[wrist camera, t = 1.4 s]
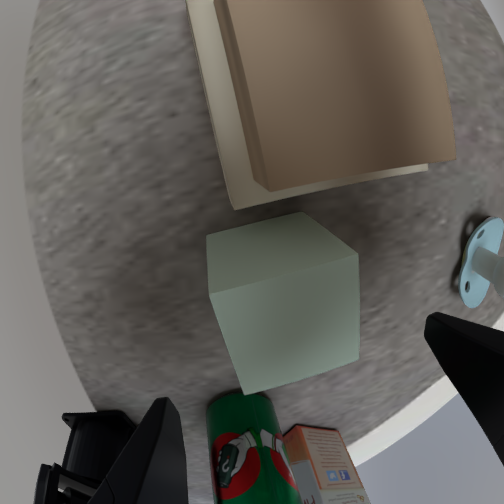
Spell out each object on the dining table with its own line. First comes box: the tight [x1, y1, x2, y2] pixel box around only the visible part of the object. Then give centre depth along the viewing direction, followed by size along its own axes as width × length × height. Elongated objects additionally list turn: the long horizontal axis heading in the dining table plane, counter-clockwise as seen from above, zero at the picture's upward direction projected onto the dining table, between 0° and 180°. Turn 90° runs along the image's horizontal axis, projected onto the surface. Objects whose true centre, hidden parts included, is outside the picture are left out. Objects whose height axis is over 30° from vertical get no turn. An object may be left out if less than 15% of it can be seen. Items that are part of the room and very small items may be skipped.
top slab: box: [213, 0, 456, 192], centre depth 9 cm, size 8×8×3 cm
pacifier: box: [458, 217, 504, 308], centre depth 15 cm, size 7×6×6 cm
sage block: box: [206, 211, 360, 395], centre depth 13 cm, size 5×5×6 cm
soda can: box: [206, 392, 303, 504], centre depth 14 cm, size 5×5×12 cm
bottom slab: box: [185, 0, 428, 210], centre depth 11 cm, size 10×10×3 cm
